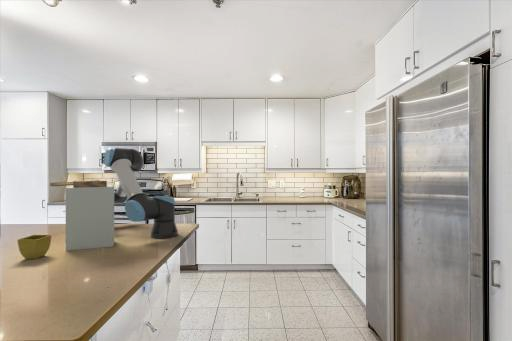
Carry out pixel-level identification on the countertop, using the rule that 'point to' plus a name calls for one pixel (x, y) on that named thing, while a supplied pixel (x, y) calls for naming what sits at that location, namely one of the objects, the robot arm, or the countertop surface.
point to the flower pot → (34, 246)
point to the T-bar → (89, 183)
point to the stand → (89, 217)
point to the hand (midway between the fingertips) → (97, 191)
